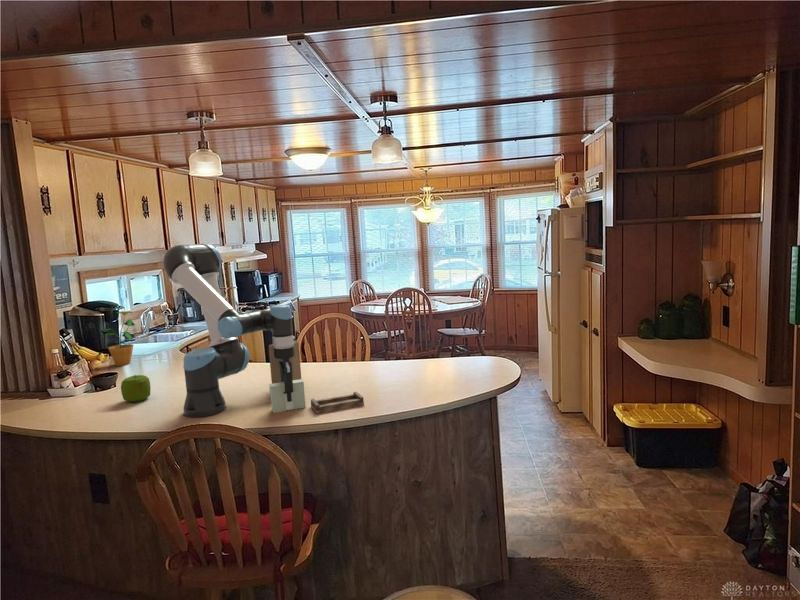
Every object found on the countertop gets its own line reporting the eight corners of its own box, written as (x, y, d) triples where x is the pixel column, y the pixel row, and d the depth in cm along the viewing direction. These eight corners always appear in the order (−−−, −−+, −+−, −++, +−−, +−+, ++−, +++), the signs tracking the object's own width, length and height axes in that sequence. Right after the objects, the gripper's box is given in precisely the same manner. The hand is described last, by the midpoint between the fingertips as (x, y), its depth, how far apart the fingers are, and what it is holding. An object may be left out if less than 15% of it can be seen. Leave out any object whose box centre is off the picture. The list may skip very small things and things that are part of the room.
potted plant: (148, 361, 297) (142, 308, 293) (116, 369, 281) (109, 313, 277) (129, 359, 306) (123, 307, 302) (97, 366, 290) (90, 312, 286)
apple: (124, 398, 225) (121, 373, 223) (152, 394, 228) (149, 370, 227) (121, 406, 214) (117, 379, 213) (150, 401, 218) (147, 376, 217)
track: (316, 413, 192) (316, 405, 191) (311, 406, 200) (310, 399, 199) (364, 405, 198) (363, 397, 198) (356, 398, 207) (356, 391, 206)
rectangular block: (273, 413, 195) (271, 386, 194) (271, 409, 199) (269, 384, 197) (305, 407, 200) (303, 381, 198) (303, 404, 203) (301, 379, 202)
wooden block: (293, 391, 221) (289, 344, 219) (271, 391, 223) (267, 345, 221) (302, 384, 231) (299, 339, 228) (281, 384, 233) (277, 340, 230)
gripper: (298, 349, 190) (303, 412, 193) (289, 341, 205) (294, 400, 208) (277, 352, 187) (282, 416, 190) (269, 344, 203) (274, 403, 205)
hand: (288, 407), depth 199 cm, fingers closed on rectangular block, 4 cm apart
